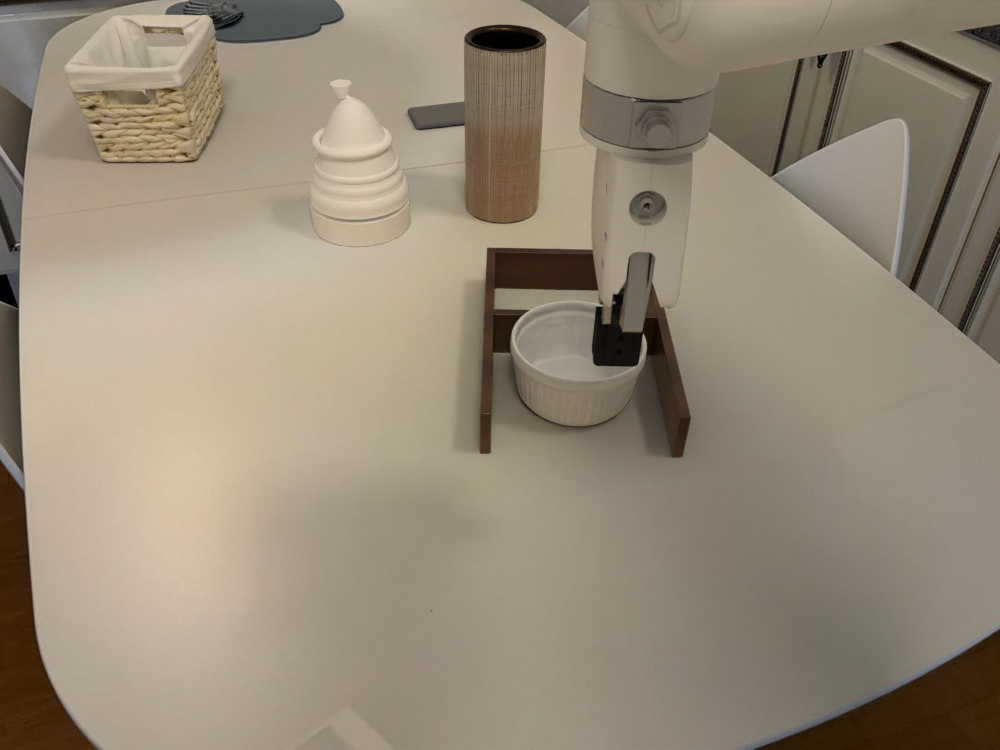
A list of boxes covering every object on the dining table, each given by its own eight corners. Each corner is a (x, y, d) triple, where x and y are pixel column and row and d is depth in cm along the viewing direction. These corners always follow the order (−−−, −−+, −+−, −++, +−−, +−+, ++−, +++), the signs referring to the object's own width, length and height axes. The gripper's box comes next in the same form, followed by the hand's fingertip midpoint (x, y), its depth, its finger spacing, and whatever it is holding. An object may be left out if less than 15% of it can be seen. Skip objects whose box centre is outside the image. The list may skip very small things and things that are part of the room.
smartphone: (406, 107, 141) (493, 97, 145) (407, 113, 142) (493, 103, 145) (416, 125, 136) (506, 114, 139) (417, 131, 136) (506, 120, 140)
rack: (682, 457, 80) (691, 417, 77) (479, 453, 80) (480, 413, 77) (644, 286, 102) (650, 250, 99) (486, 283, 102) (486, 247, 99)
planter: (551, 215, 116) (561, 43, 101) (484, 230, 112) (485, 55, 98) (517, 184, 123) (523, 20, 108) (453, 197, 119) (450, 29, 105)
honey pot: (294, 218, 114) (274, 84, 102) (374, 190, 120) (364, 61, 109) (347, 257, 106) (332, 118, 95) (430, 225, 113) (425, 91, 101)
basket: (200, 167, 125) (178, 66, 116) (87, 168, 124) (56, 66, 115) (232, 104, 143) (215, 13, 134) (134, 104, 143) (110, 12, 133)
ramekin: (664, 391, 87) (674, 336, 83) (585, 457, 80) (591, 401, 75) (563, 338, 94) (568, 284, 90) (481, 394, 86) (482, 339, 82)
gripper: (737, 166, 43) (683, 431, 55) (689, 65, 55) (653, 301, 67) (590, 163, 43) (567, 429, 55) (573, 62, 55) (557, 300, 67)
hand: (614, 359), depth 61 cm, fingers closed
